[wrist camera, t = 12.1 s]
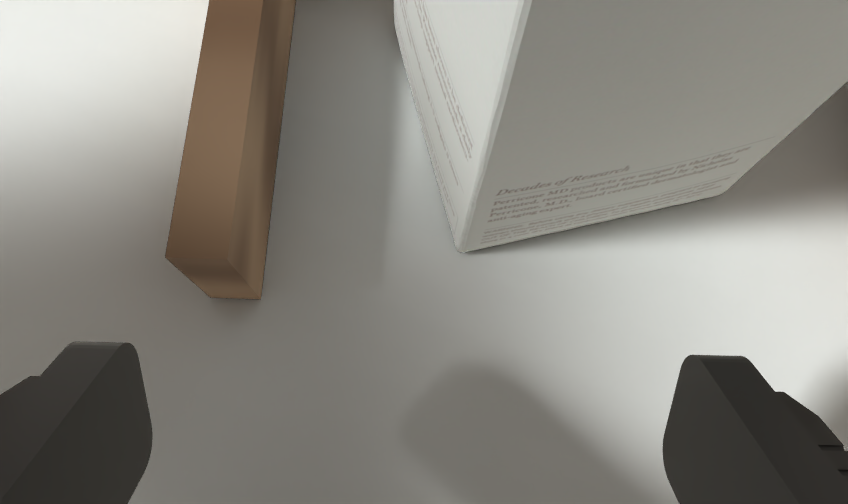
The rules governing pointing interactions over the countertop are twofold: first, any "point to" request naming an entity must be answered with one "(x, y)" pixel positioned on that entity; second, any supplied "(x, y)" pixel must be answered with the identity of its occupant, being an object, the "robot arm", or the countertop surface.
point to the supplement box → (607, 101)
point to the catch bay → (232, 148)
